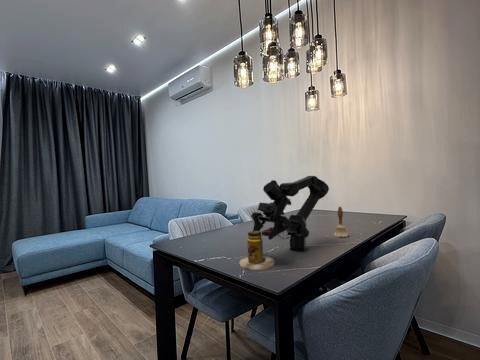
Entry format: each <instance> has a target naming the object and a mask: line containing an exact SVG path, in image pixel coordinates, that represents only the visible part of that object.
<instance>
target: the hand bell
mask: <svg viewBox="0 0 480 360" xmlns="http://www.w3.org/2000/svg"><path fill="white" fill-rule="evenodd" d="M343 214H344V213H343V209H342V206H338V208H337V217H338V225H337V226H336V228H335V229H336V230H335V233H333V235H335V236H347V235H349V233H348V232H347V229H346V226H345V225H344V224H343V216H344V215H343Z"/></svg>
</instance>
